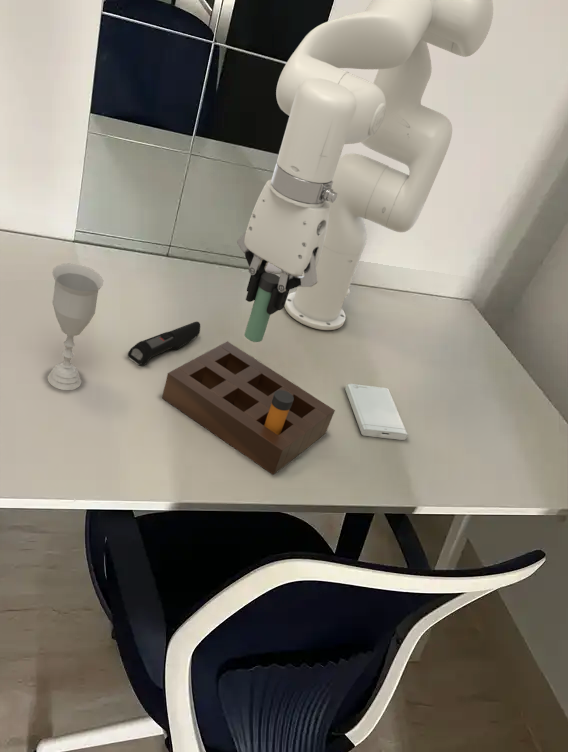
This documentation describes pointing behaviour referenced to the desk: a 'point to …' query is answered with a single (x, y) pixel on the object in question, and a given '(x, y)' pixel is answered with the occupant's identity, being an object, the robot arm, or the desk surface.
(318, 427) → the rack
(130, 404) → the desk surface
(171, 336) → the electric trimmer
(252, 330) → the sage tube
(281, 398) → the amber tube
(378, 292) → the desk surface
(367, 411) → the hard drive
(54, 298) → the chalice
